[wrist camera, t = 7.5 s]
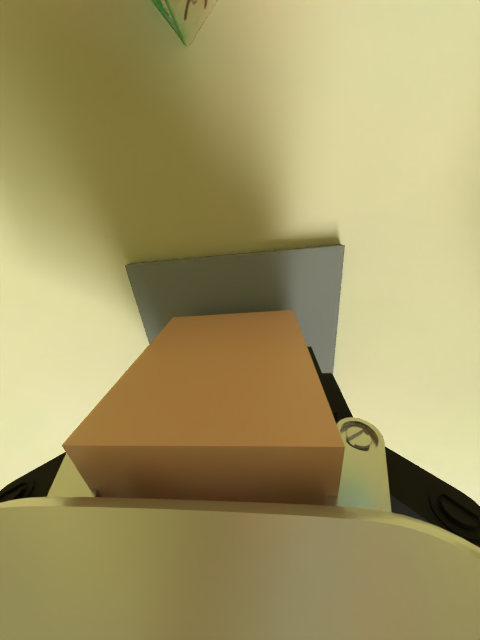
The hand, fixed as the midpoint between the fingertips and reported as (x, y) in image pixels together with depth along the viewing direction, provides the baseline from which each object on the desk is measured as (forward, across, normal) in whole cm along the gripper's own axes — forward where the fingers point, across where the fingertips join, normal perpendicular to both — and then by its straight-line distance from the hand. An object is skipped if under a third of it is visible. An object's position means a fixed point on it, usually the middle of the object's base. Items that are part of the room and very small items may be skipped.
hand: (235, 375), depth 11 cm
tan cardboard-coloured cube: (+1, 0, 0) cm, 1 cm away
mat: (+3, 0, 0) cm, 3 cm away
